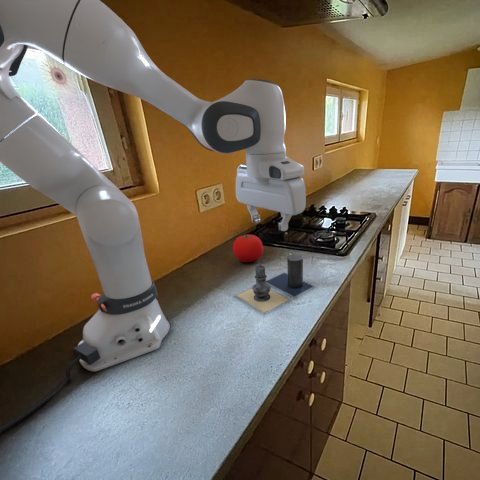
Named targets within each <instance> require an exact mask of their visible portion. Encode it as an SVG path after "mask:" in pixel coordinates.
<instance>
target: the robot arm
mask: <svg viewBox="0 0 480 480" xmlns="http://www.w3.org/2000/svg"><path fill="white" fill-rule="evenodd" d="M29 47H31V48H33V49H37V50H39V51H40V52H42V53H44V54H46V55H48V56H49V57H51V58H52V59H54V60H56V61H58V62H59V63H60V64H63V65H64V66H66V67H67V68H69V69H71V70H72V71H74V72H76V73H78V74H79V75H82V76H83V77H85V78H87V79H90V80H91V81H93V82H95V83H98V84H100V85H102V86H105V87H108V88H111V89H113V90H115V91H119V92H121V93H124V94H127V95H130V96H132V97H136V98H138V99H140V100H143V101H145V102H147V103H149V104H150V105H152V106H153V107H155V108H157V109H158V110H160V111H162V112H163V113H164V114H166V115H168V117H171V118H172V119H174V120H175V121H177V122H179V123H180V124H182V125H183V126H184V127H185V128H187V130H188V131H189V132H190V134H191V135H192V137H193V138H194V139H195V141H196V142H197V143H198V144H199V145H200V146H201V147H202V148H204V149H206V150H208V151H211V152H216V153H219V154H222V155H229V154H230V155H231V154H234V153H236V152H239V151H242V150H244V151H245V163H241V164H240V163H239V165H238V167H237V168H236V176H235V198H236V201H237V202H238V203H240V204H244V205H246V207H247V211H248V213H249V214H250V216H251V222H252V223H254V224H258V223H261V221H262V220H261V214H259V213H258V209H257V208H261V209H265V210H269V211H274V212H278V213H280V217H281V218H282V219H281V221H279V222H278V223H277V227H278V230H279V231H281V232H286V231H288V230H289V222H290V220H291V218H292V216H297V215H299V214H302V213H304V211H305V209H306V206H307V191H306V190H307V189H306V184H305V180H304V179H303V178H302V177H303V176H304V175H305V166H304V164H303V165H302V164H301V163H299V162H297V161H295V160H294V159H292V158H290V157H289V156H287V149H286V144H285V134H286V109H285V100H284V96H283V92H282V89H281V87H280V86H279V85H278V84H277V83H275V82H274V81H270V80H266V79H263V78H262V79H261V78H258V79H257V78H249V79H246V80H244V81H243V83H242V84H241V85H240V86H238V87H237V88H236V89H235V90H233V91H232V92H230V93H228V94H226V95H225V96H222V97H220V98H219V99H216V100H214V101H209V100H204V99H201V98H199V97H197V96H196V95H194V94H193V93H192V92H190V91H189V90H188V89H186V88H185V87H183V86H182V85H180V84H179V83H178V82H176V81H175V80H174V79H172V78H171V77H170V76H168V75H167V74H165V72H163V70H161V69H160V68H159V67H158V66H157V65H156V64H155V63H154V61H153V60H152V58H151V57H150V56H149V55H148V52H147V51H146V50H145V48H144V47H143V45H142V43H141V41H140V40H139V38H138V37H137V35H136V33H135V32H134V31H133V30H132V28H131V27H130V26H129V25H127V23H126V22H125V21H124V20H123V19H121V17H119V15H117V13H115V11H113V10H112V9H111V8H110V7H109V6H107V5H106V4H105V3H104V2H102V1H101V0H0V164H2V166H5V167H6V168H7V169H8V170H9V171H10V172H12V173H13V174H15V175H16V176H17V177H19V178H20V179H21V180H22V181H23V182H24V183H26V184H27V185H29V186H30V187H31V188H33V189H34V190H36V191H38V192H40V193H41V194H43V195H44V196H46V197H48V198H49V199H50V200H52V201H54V202H55V203H56V204H58V205H60V206H61V207H63V208H64V209H65V210H67V211H68V212H70V213H71V214H72V215H73V216H74V217H75V218H76V219H77V222H78V226H79V228H80V231H81V233H82V237H83V239H84V242H85V244H86V248H87V249H88V252H89V255H90V258H91V260H92V263H93V266H94V269H95V272H96V275H97V278H98V280H99V282H100V286H101V289H102V291H103V292H102V293H101V294H100V293H98V292H94V293H93V294H91V296H90V299H91V300H92V302H93V303H95V304H97V306H98V310H97V311H96V312H95V314H93V316H92V317H91V318H90V319H89V320H88V321H87V322H86V323H85V324H84V326H83V328H82V340H80V341H79V342H78V344H77V346H75V347H73V350H74V353H75V355H76V358H75V359H73V361H72V362H71V363H70V364H69V365H68V366H67V368H66V370H65V378H64V380H63V382H62V383H61V384H60V386H58V388H56V389H55V390H54V391H53V392H51V393H50V394H49V395H47V396H46V397H45V398H43V399H42V400H40V401H39V402H38V403H36V404H34V405H33V406H32V407H30V408H29V409H28V410H26V411H25V412H24V413H22V414H20V415H19V416H17V417H16V418H14V419H12V420H11V421H10V422H8V423H6V424H4V425H3V426H1V427H0V434H1V433H3V432H5V430H7V429H10V428H11V427H12V426H14V425H16V424H17V423H19V422H21V421H22V420H24V418H25V419H26V417H28V416H30V415H31V414H32V413H34V412H35V411H36V410H38V409H39V408H40V407H41V406H43V405H44V404H46V403H47V402H48V401H50V400H51V399H53V398H54V397H55V396H56V395H57V394H58V393H59V391H61V390H62V389H63V388H64V387H65V386H66V385H67V384H68V382H69V381H70V379H71V370H72V369H73V367H74V366H75V365H76V364H77V363H78V362H79V364H80V366H82V367H83V368H84V369H86V370H87V371H89V372H94V373H95V372H98V371H102V370H105V369H108V368H109V367H112V366H113V367H114V366H115V365H118V364H121V363H123V362H126V361H129V360H132V359H134V358H137V357H140V356H143V355H146V354H147V353H151V352H153V351H156V350H158V349H160V347H161V344H162V342H163V339H165V337H166V336H167V335H168V333H169V331H170V328H171V326H170V322H169V321H168V319H167V318H166V316H165V315H164V312H163V311H162V308H161V306H160V304H159V294H158V291H157V287H156V285H155V282H154V281H153V280H152V278H151V272H150V270H149V265H148V262H147V258H146V254H145V247H144V239H143V234H142V228H141V223H140V218H139V213H138V210H137V208H136V206H135V204H134V203H133V201H131V199H130V198H129V197H127V196H126V194H124V192H123V191H122V190H121V189H119V188H118V187H117V185H115V184H114V183H113V182H112V181H111V180H110V179H109V178H108V177H107V176H106V175H105V174H104V173H103V172H101V170H99V169H98V168H97V167H96V166H95V165H94V164H93V163H92V162H91V161H90V160H89V159H88V158H87V157H86V156H84V154H83V153H82V152H80V151H79V150H78V149H77V148H76V147H75V146H74V145H73V144H72V143H71V142H70V141H69V140H68V139H66V137H64V136H63V135H62V133H61V132H59V131H58V130H57V129H56V128H55V127H54V126H53V125H52V124H51V123H50V122H49V121H48V120H47V119H46V118H45V117H43V115H41V113H39V112H38V111H37V110H36V109H35V108H34V107H33V106H32V105H31V104H29V103H28V101H26V100H25V99H24V98H23V97H22V96H21V95H20V93H19V92H18V91H17V90H16V89H15V87H14V86H13V84H12V82H11V79H10V77H14V76H16V75H17V74H18V71H19V69H20V66H21V64H22V62H23V59H24V57H25V55H26V54H27V50H28V48H29Z"/></svg>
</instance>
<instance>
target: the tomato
mask: <svg viewBox="0 0 480 480" xmlns="http://www.w3.org/2000/svg"><path fill="white" fill-rule="evenodd" d="M232 251H233V254H234V256H235V258H236V260H238V261H239V262H241V263H251V262H256V261H257V260H259V259H260V258H261V257H262V255H263V253H264V246H263V242H262V240H261V239H260V238H259V237H258V236H256V235H255V234H248V233H247V234H243V235H240V236H238V237H237V238H236V239H235V240H234V242H233V245H232Z"/></svg>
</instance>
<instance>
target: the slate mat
mask: <svg viewBox="0 0 480 480" xmlns="http://www.w3.org/2000/svg"><path fill="white" fill-rule="evenodd" d="M266 283H267V284H269V285H270V286H273V287H275V288H277V289H278V290H281V291H282V292H285V293H287V294H288V295H290V296H292V297H294V298H295V297H296V296H298V295H300V294H302V293H304V292H306V291H308V290H310V289H312V288H313V287H314V285H312V284H310V283H308V282H305V281H303V286H302V287H300V288H296V289H295V288H290V287H289V286H288V273H285V272H283V273H281V274H279V275H277V276H274V277H273V278H270V279H268V280H266Z"/></svg>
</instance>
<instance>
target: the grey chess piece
mask: <svg viewBox="0 0 480 480" xmlns="http://www.w3.org/2000/svg"><path fill="white" fill-rule="evenodd" d="M254 269H255V275H254V279H255V283H254V284H253V285H252V287H251V288H252V290H253V292H254V294H255V296H254V300H256V301H258V302H265V301H267V300H269V299H270V295H269V292H270V290H272V285H271V284H269V283H267V282H266V281H267V274H266V267H265V265H263V264H262V263H261V262H259V263H258V264H257V265H256V266H255V268H254Z"/></svg>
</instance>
